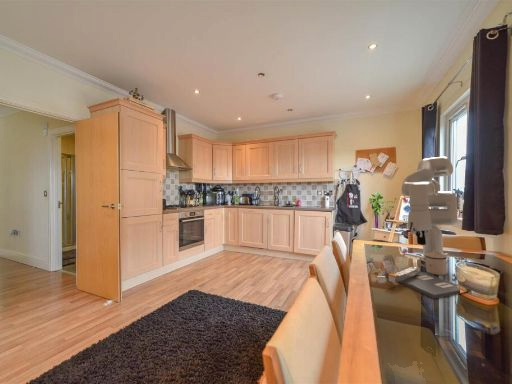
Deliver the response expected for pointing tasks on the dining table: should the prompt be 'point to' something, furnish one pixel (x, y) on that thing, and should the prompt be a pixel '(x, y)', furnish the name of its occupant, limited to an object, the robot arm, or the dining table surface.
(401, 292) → the dining table surface
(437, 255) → the teacup with lid
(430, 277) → the tray
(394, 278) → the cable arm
